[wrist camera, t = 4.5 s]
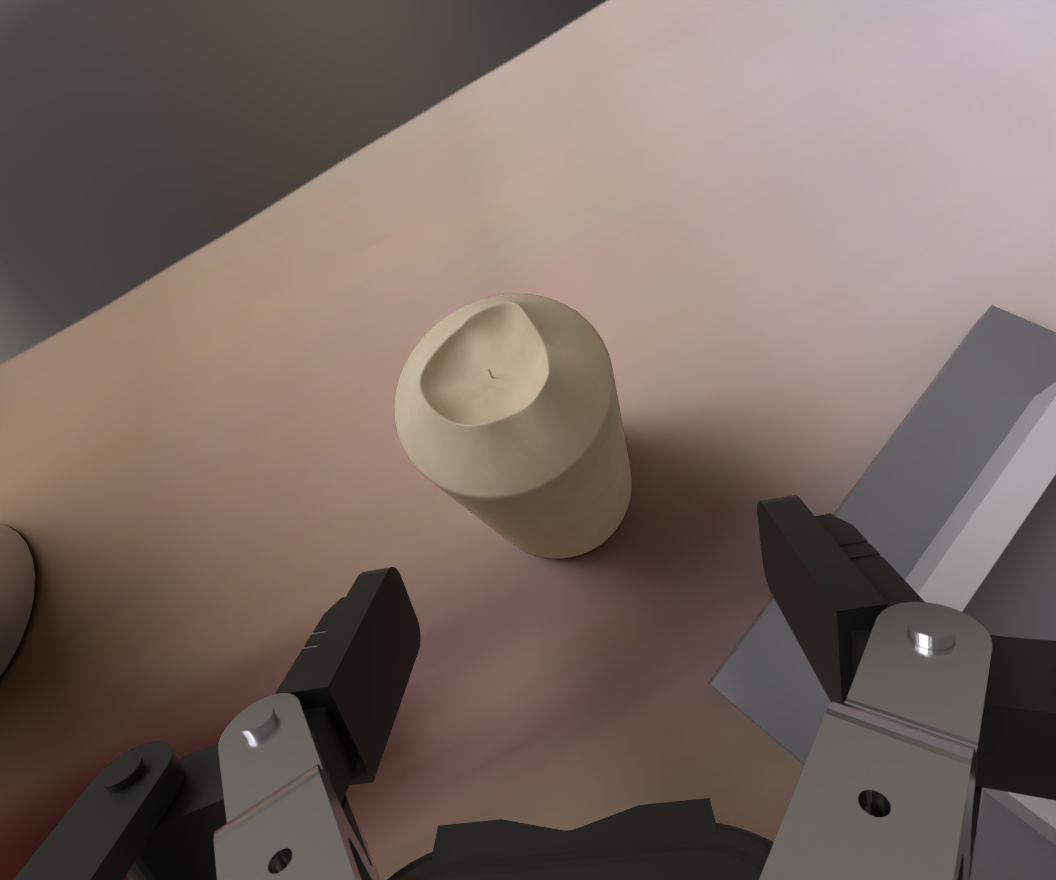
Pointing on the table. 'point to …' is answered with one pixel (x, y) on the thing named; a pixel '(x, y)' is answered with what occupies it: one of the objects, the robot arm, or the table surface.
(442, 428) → the candle
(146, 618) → the table surface
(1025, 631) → the candle tray
